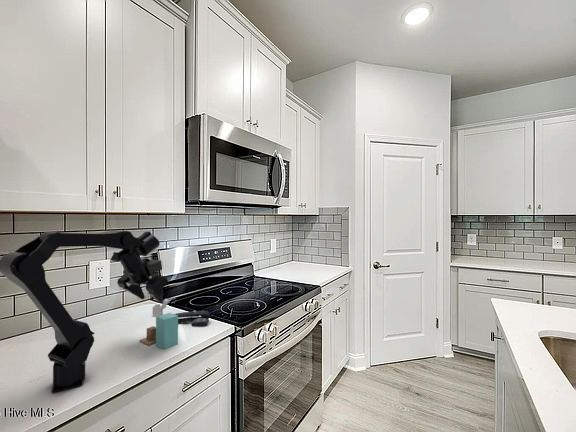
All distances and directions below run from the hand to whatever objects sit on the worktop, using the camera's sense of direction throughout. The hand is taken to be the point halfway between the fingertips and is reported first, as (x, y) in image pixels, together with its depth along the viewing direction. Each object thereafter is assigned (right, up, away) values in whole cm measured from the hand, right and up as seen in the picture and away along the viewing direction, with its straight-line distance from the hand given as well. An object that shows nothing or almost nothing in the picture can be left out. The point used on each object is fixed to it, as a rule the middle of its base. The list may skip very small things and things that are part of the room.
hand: (152, 300), depth 102 cm
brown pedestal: (-2, -16, +3) cm, 16 cm away
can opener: (+6, -16, +20) cm, 26 cm away
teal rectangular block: (+5, -16, 0) cm, 16 cm away
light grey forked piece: (-9, -16, +28) cm, 33 cm away
